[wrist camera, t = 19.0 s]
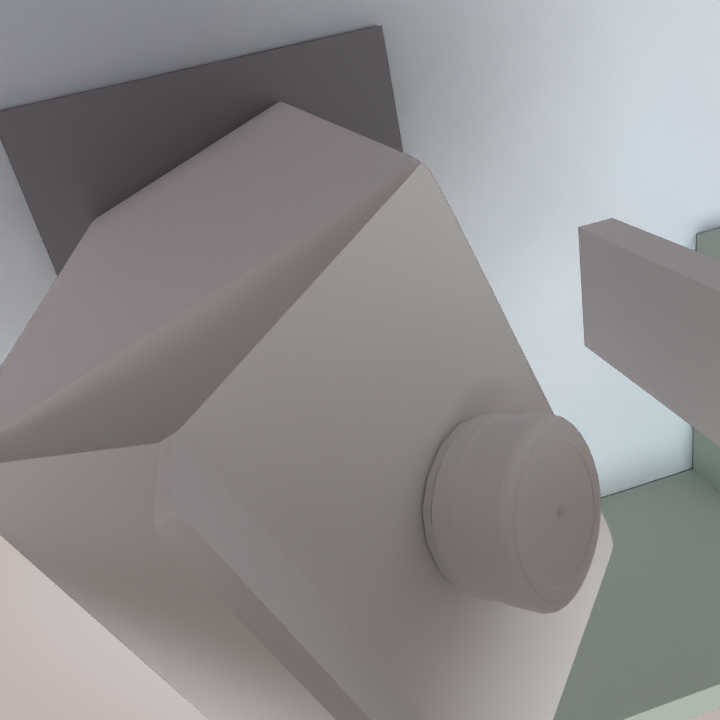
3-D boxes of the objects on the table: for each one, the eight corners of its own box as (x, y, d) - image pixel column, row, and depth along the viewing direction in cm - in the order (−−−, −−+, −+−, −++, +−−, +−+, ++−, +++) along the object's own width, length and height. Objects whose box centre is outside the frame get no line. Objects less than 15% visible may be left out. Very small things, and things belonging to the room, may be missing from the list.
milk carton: (220, 384, 25) (283, 1086, 8) (91, 219, 22) (-278, 795, 5) (386, 280, 25) (820, 764, 8) (280, 98, 21) (622, 231, 4)
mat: (-6, 112, 20) (-11, 113, 20) (377, 26, 22) (381, 25, 21) (131, 445, 25) (131, 452, 25) (434, 357, 27) (438, 363, 26)
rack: (408, 314, 26) (523, 446, 17) (723, 226, 27) (980, 305, 19) (454, 566, 31) (559, 766, 22) (714, 481, 33) (909, 637, 24)
